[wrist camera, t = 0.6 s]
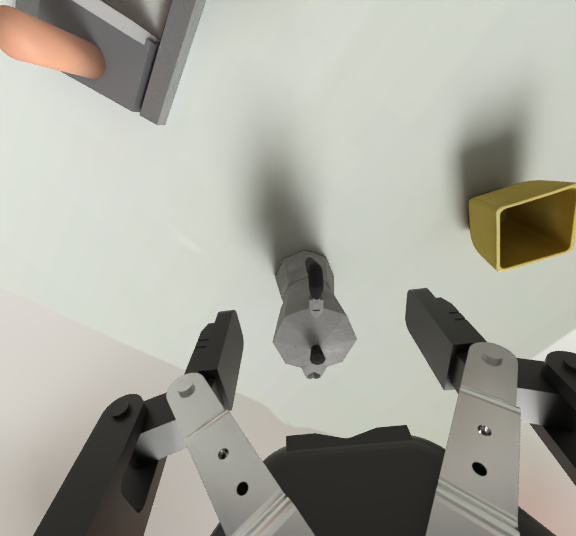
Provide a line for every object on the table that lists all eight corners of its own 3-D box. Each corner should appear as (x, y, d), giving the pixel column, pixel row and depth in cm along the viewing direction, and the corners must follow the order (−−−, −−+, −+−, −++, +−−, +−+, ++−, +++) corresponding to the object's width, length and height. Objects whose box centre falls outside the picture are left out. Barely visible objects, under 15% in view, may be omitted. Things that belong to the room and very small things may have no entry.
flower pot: (456, 246, 42) (497, 274, 34) (452, 191, 39) (497, 208, 31) (516, 227, 41) (573, 251, 33) (518, 169, 37) (583, 181, 29)
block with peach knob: (66, -19, 28) (-67, -110, 17) (164, 43, 30) (100, -3, 20) (54, 61, 31) (-67, 26, 20) (144, 112, 33) (78, 105, 22)
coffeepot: (331, 309, 47) (358, 402, 31) (276, 310, 47) (274, 405, 31) (337, 222, 40) (374, 285, 24) (272, 224, 40) (266, 288, 24)
